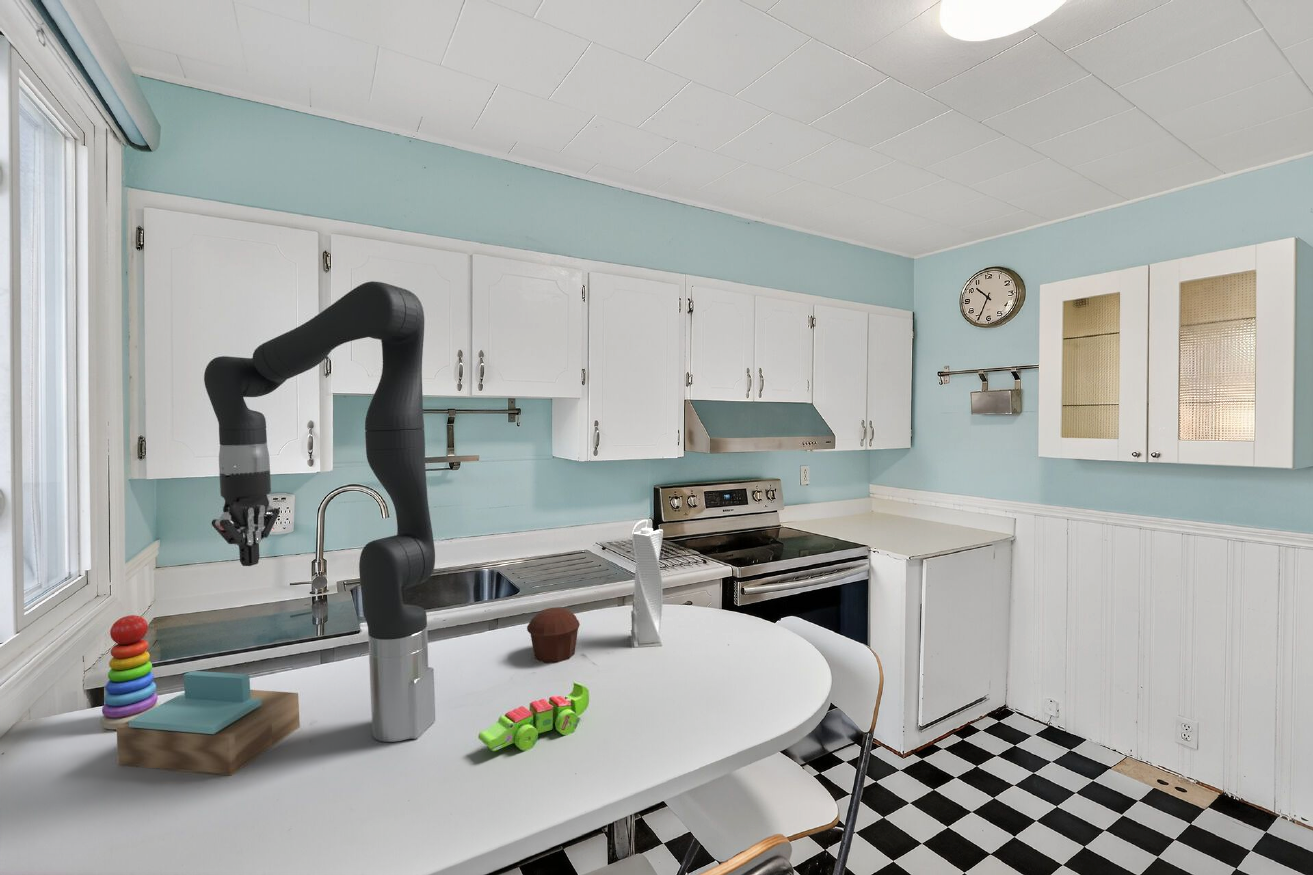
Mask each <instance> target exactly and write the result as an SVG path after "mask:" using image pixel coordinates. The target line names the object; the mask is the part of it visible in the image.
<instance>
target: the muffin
mask: <svg viewBox="0 0 1313 875" xmlns="http://www.w3.org/2000/svg"><path fill="white" fill-rule="evenodd" d="M580 625H581V624H580V621H579V620H578V618H577V616H576V615H575V614H574V613H573V612H572V611H570V610H568V609H566V608H563V607H557V606H555V607H548V608H546V609H542V610H541V611H539V612H538V613H537V614H536V615H534V616H533V617H532V618H531V620H530V622H529V623H528V625H527V626H526V630H527V632H528V633H529V634H530V640H531V645H532V649H533V650H532V651H533V655H534V657H535V660H536V661H538V662H542V663H543V664H549V663H553V664H554V663H555V664H556V663H557V664H558V663H560V662H563V661H568V660H570V659H571V658H572V657H573V656H574V655H575V654H576V649H577V648H576V647H577V640H578V632H579V627H580Z"/></svg>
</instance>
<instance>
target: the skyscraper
mask: <svg viewBox="0 0 1313 875" xmlns="http://www.w3.org/2000/svg"><path fill="white" fill-rule="evenodd" d="M642 523H645V527H643V528H641V529H640V530H639V531H635V530H636V527H637V526H638V525H640V524H642ZM648 523H649V520H648V519H642V520H640V521H638V522H637V523H636V524H635V525H634V527H633V529H632V531H631V539H632V546H633V554H634V559H635V572H634V586H633V587H634V592H633V595H632V597H633V599H632V610H631V611H630V612H631V613H630V614H631V630H630V635H629V641H630V647H631V649H636V648H637V649H638V648H652V647H662V646H663V645H662V644H663V643H662V641H661V637H660V629H661V623H662V614H663V613H662V612H663V580H662V578H663V577H662V573H661V568H660V563H659V561H660V555H661V549H662V543H663V538H664V537H663V536H664V530H663V528H662V529H661V528H660V529H656V530H654V528H652V527H648Z"/></svg>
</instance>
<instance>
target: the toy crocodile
mask: <svg viewBox="0 0 1313 875" xmlns="http://www.w3.org/2000/svg"><path fill="white" fill-rule="evenodd" d="M589 703H590V693H589V690H588V687H587V686H585V685H583V684H581V683H578V682H576V681H575V682H573V689H572V691H571V692H570V693H569V694H568V695H566V696H564V697H563V696H562V695H557V696H553V695H552V696H550V697H549V698H548V700H547V699H546V698H541V699H539V700H534V701H532V702H530V703H529V709H528V708H526V707H525V706H523V705H521V706H519V707H517V708H514V709H513V710H509V711H507V712H506V713H505V714H504V715H499V717H498V721H496V722H494V723H493V724H492V725H491V726H489V727H488V728H487V729H484V730H482V731H480V732H479V733H478V739H479V740H480V741H481V743H483V744H484V745H486V746H487V747H488V748H489V749H490V750H491V751H492V752H496V751H499V750H500V749H503V748H505V747H508V746H510V745H512V744H515V746H516V747H517V748H518V749H519V750H521V751H523V752H524V751H525V752H526V751H529V750H530V749H531V748H533V747H534V746H535V745H536V743H537V741H538V738H539V734H541V733H545V732H547V731H551V730H553V728H554V727H555V729H556V731H557V732H559V733H560V734H561V735H563V736H568V735H570V734H572V733H574V732H575V730H576V729H577V727H578V724H579V716H580V715H582V714H583V713H584V712H585V711H587V709H588V708H589ZM553 724H555V726H553Z"/></svg>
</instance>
